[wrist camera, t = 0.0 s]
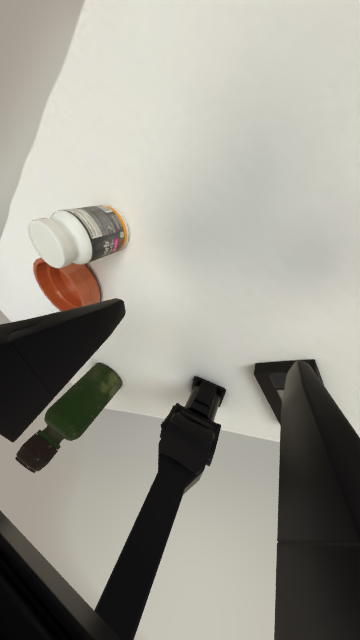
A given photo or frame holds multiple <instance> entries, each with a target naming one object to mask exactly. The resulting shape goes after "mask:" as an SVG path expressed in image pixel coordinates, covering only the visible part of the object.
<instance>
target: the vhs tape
mask: <svg viewBox="0 0 360 640" xmlns="http://www.w3.org/2000/svg"><path fill="white" fill-rule="evenodd" d="M300 361H302V362H305V363H308V364H309V365H310V366H311V368H312V369H313V371H314V372H315V374H316V375H317V377H318V378H319V380H320V381H321V382H322V384H323V381H322V379H321V376H320V373H319V370H318V367H317V365H316V362H315V360H304V361H303V360H300ZM295 362H296V361H285V362H271V363H257V364H256V365H255V370H254V375H255V377H256V379H257V381H258V383H259V385H260V387H261V389H262V391H263V393H264V395H265V396H266V398H267V400H268V402H269V404H270V406H271V408H272V410H273V412H274V414H275V416H276V418H277V419H278V421H279V423H280V425H281V407H282V401H283V395H284V389H285V383H286V377H287V373H288V371H289V370H290V368H291V367H292V366H293V364H294V363H295ZM323 385H324V384H323Z"/></svg>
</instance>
